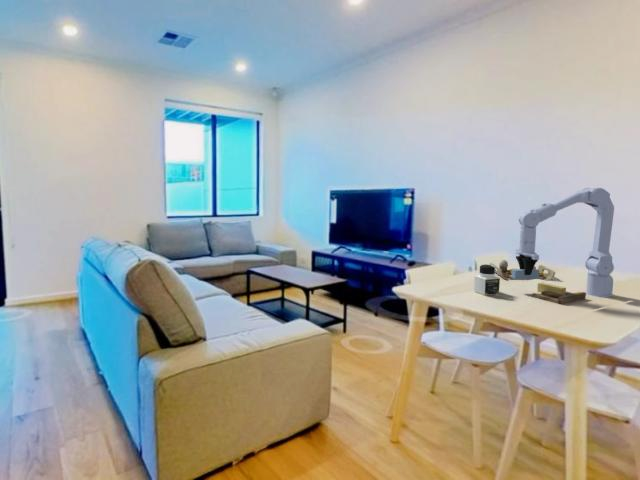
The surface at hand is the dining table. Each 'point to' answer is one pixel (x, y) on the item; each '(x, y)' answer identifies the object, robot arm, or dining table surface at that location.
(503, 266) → the toy food set
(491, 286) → the medicine bottle
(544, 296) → the comb board
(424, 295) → the dining table surface
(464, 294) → the dining table surface
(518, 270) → the stick blue
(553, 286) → the stick ochre
